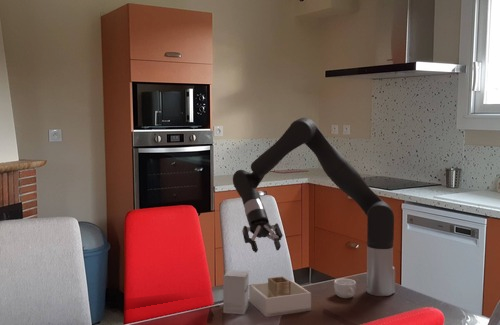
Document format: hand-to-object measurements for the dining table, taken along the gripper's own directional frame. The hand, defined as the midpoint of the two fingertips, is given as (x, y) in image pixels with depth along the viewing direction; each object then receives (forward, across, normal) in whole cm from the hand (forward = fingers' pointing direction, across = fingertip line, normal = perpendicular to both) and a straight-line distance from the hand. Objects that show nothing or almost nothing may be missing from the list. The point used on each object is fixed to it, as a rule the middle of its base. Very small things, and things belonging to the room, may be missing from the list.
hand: (267, 250), depth 181 cm
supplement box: (+18, -15, +6) cm, 25 cm away
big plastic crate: (+19, 0, +4) cm, 20 cm away
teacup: (+20, +26, +4) cm, 33 cm away
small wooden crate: (+19, 0, +4) cm, 19 cm away
